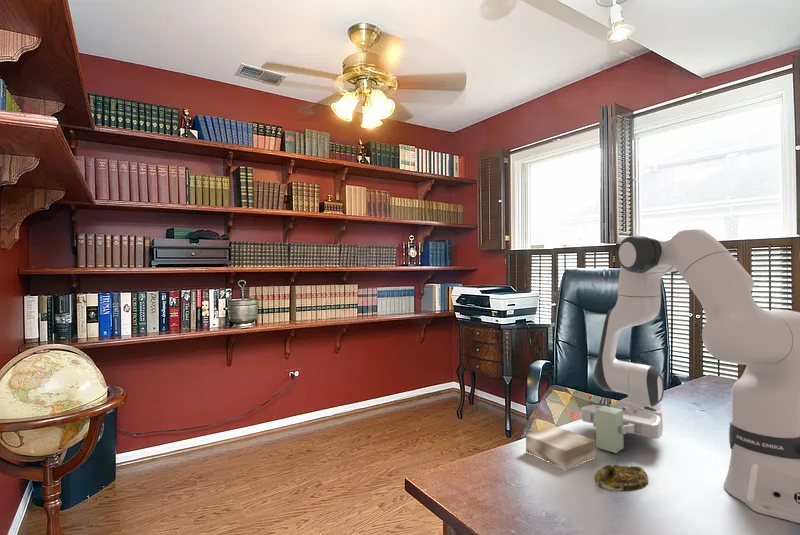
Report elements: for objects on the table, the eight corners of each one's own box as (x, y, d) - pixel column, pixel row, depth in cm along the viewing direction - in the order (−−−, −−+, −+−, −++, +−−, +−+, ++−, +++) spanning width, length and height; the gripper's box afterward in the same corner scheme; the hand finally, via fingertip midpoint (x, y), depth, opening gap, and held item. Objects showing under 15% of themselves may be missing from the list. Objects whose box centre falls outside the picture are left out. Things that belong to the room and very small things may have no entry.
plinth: (595, 460, 108) (595, 440, 108) (565, 472, 101) (565, 450, 101) (555, 444, 118) (555, 426, 118) (526, 454, 111) (525, 434, 111)
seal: (621, 469, 104) (583, 484, 97) (619, 449, 105) (581, 463, 97) (660, 480, 97) (622, 498, 89) (658, 459, 97) (619, 475, 89)
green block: (623, 447, 112) (622, 409, 113) (615, 453, 109) (615, 414, 109) (604, 442, 116) (603, 405, 116) (596, 447, 113) (595, 409, 113)
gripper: (591, 397, 129) (570, 406, 120) (668, 412, 114) (649, 425, 105) (592, 417, 129) (570, 429, 120) (668, 436, 114) (650, 450, 105)
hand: (608, 427), depth 112 cm, fingers closed on green block, 5 cm apart
